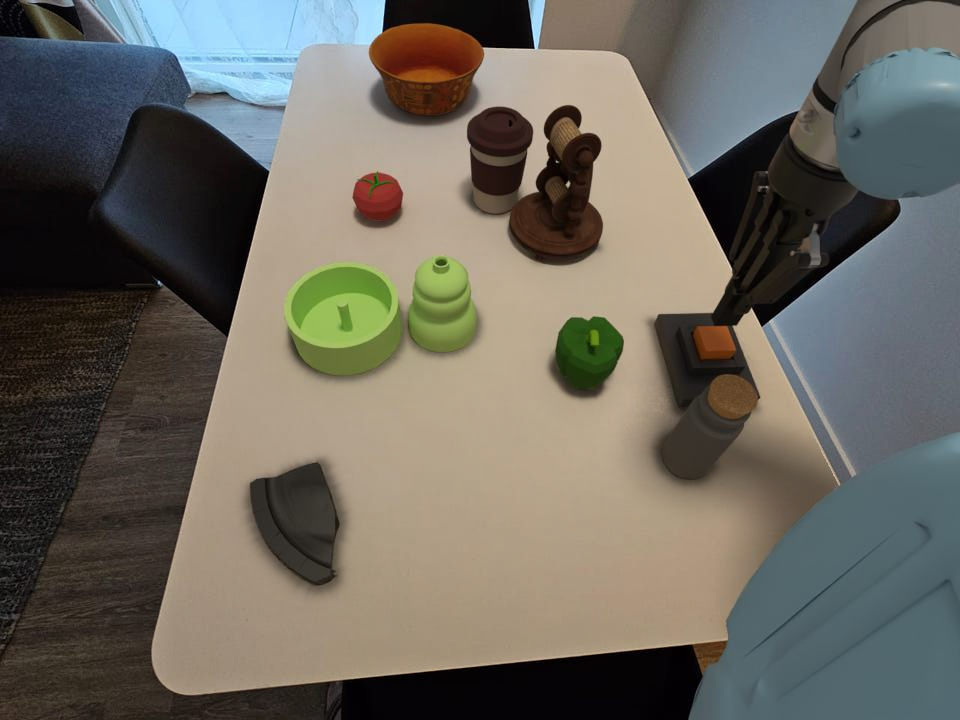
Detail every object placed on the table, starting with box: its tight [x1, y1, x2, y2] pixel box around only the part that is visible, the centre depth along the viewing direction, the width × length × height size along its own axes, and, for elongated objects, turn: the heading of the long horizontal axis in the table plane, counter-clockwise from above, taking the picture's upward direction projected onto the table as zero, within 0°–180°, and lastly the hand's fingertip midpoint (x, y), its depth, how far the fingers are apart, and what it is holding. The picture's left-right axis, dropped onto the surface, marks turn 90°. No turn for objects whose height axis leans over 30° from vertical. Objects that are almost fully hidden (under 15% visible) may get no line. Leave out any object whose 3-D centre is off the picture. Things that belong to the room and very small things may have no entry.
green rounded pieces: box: [283, 254, 478, 377], centre depth 74 cm, size 25×15×13 cm, turn 97°
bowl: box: [368, 22, 485, 116], centre depth 108 cm, size 21×21×10 cm
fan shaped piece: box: [249, 461, 340, 585], centre depth 62 cm, size 8×14×2 cm, turn 23°
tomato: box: [352, 170, 404, 222], centre depth 90 cm, size 8×8×8 cm
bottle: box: [661, 374, 759, 480], centre depth 63 cm, size 6×6×15 cm
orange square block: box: [692, 326, 736, 360], centre depth 74 cm, size 4×4×2 cm
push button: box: [654, 312, 761, 409], centre depth 76 cm, size 14×10×4 cm
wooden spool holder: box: [508, 104, 604, 260], centre depth 83 cm, size 15×15×20 cm
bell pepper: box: [554, 315, 625, 391], centre depth 72 cm, size 8×8×10 cm
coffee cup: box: [466, 105, 534, 215], centre depth 90 cm, size 10×10×15 cm
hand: (723, 320), depth 67 cm, fingers closed
